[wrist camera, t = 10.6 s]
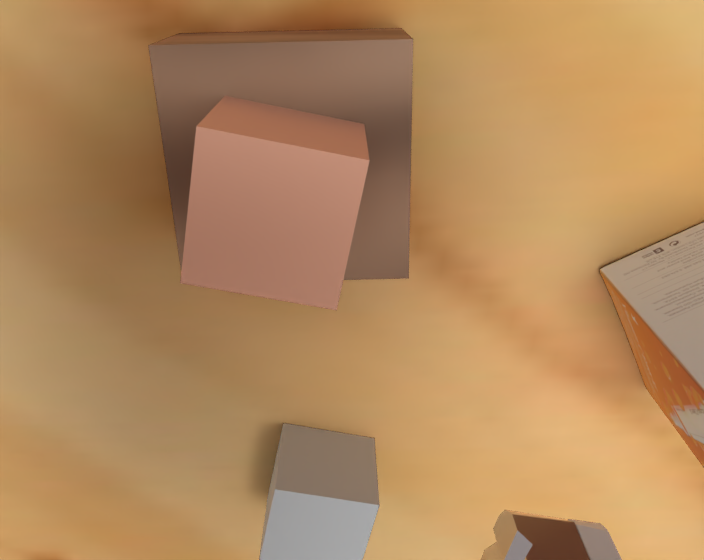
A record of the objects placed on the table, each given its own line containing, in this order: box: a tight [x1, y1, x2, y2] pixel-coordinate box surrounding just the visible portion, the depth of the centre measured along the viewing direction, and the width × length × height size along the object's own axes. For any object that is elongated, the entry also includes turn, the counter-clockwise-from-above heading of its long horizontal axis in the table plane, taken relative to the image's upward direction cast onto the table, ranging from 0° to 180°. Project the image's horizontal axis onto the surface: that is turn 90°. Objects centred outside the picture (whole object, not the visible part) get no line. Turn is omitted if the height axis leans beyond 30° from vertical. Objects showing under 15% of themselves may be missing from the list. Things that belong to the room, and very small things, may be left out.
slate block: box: [259, 423, 379, 560], centre depth 34 cm, size 5×5×5 cm
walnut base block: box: [148, 28, 413, 280], centre depth 26 cm, size 9×9×5 cm
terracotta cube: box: [180, 96, 370, 310], centre depth 22 cm, size 5×5×5 cm
